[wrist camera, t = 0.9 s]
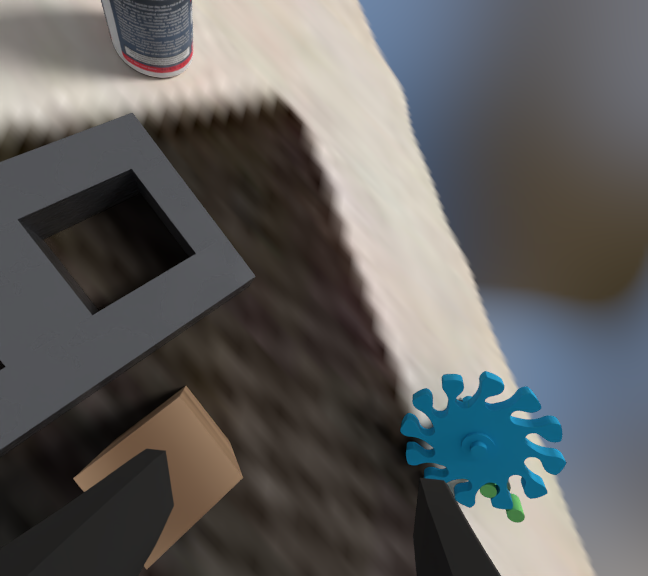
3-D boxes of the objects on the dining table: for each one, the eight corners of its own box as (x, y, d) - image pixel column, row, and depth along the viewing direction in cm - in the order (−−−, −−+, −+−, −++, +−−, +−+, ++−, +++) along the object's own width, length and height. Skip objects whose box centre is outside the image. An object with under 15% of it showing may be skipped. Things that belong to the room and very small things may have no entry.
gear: (376, 401, 23) (538, 362, 19) (387, 363, 28) (514, 327, 25) (437, 537, 24) (600, 524, 20) (436, 474, 29) (564, 456, 26)
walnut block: (164, 499, 19) (146, 569, 13) (116, 438, 19) (73, 478, 12) (229, 441, 21) (243, 477, 14) (186, 385, 21) (179, 396, 14)
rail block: (-111, 533, 15) (-186, 574, 12) (-291, 322, 15) (-413, 313, 12) (248, 286, 23) (256, 275, 20) (140, 143, 23) (131, 110, 20)
